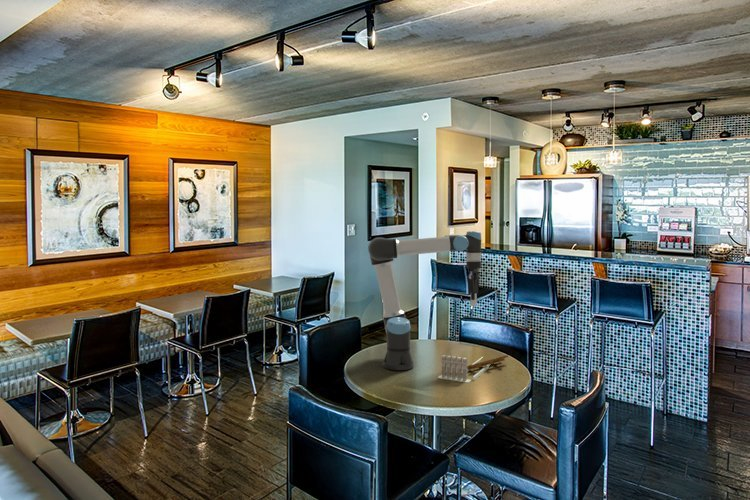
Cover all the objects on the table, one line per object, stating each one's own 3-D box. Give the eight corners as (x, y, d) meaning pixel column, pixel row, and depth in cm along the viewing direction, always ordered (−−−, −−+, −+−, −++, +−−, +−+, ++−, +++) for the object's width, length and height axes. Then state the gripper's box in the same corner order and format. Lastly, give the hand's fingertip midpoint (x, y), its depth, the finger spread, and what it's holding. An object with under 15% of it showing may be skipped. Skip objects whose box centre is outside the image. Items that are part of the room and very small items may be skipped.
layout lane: (458, 378, 229) (458, 374, 229) (482, 359, 261) (482, 356, 261) (474, 380, 225) (474, 377, 225) (496, 361, 258) (496, 358, 258)
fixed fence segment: (466, 380, 224) (466, 358, 224) (441, 377, 230) (441, 355, 230) (467, 379, 226) (467, 357, 225) (442, 376, 232) (442, 354, 231)
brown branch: (463, 371, 241) (477, 367, 234) (462, 367, 242) (476, 363, 234) (498, 361, 256) (512, 357, 248) (496, 357, 256) (511, 354, 249)
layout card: (436, 378, 229) (436, 377, 229) (440, 375, 233) (440, 375, 233) (468, 382, 222) (468, 382, 222) (471, 380, 226) (471, 379, 226)
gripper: (476, 261, 252) (476, 308, 253) (484, 260, 263) (484, 304, 264) (462, 261, 256) (462, 307, 257) (470, 259, 267) (470, 303, 268)
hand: (473, 305), depth 260 cm, fingers closed
